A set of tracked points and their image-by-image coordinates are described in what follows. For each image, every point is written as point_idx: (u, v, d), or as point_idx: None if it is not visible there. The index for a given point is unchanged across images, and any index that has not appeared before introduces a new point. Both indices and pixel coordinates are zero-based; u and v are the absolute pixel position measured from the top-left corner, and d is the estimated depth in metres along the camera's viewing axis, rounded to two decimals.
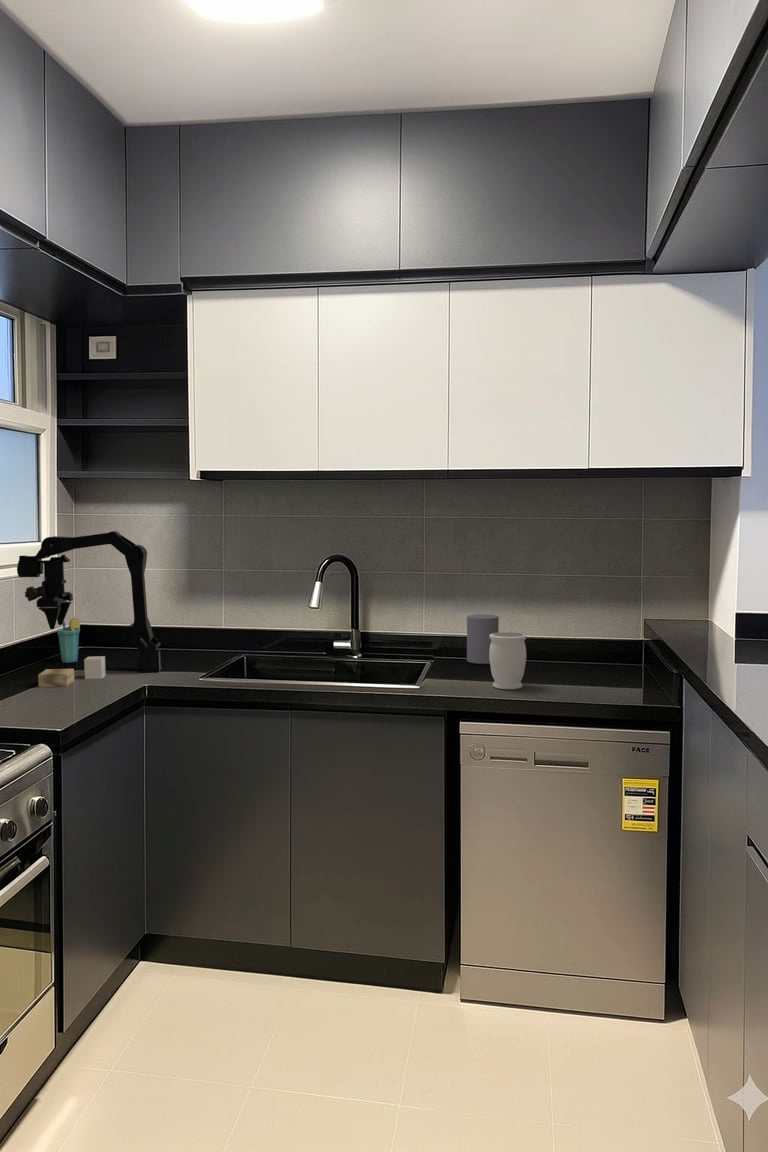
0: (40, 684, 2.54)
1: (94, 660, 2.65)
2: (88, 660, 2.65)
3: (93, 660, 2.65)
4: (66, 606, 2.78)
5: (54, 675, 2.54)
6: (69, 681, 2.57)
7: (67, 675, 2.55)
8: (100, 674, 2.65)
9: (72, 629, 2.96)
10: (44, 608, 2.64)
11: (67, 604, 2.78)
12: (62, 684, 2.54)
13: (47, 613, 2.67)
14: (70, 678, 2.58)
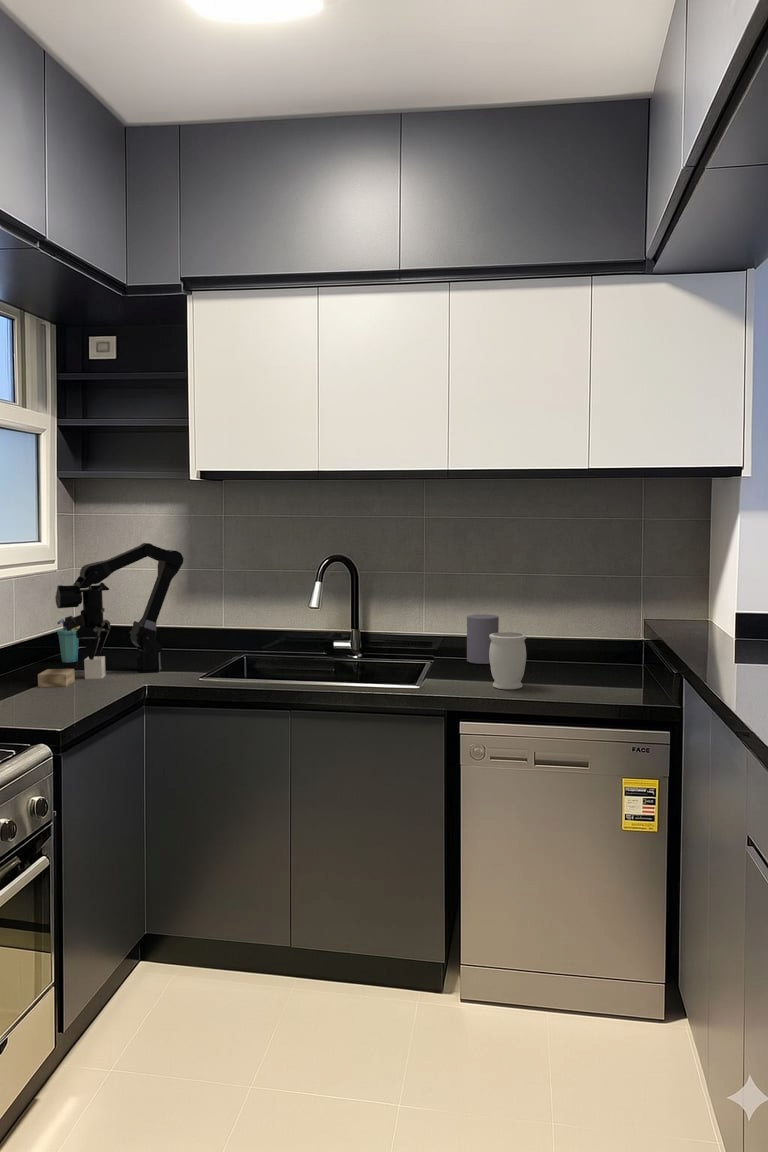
0: (40, 684, 2.54)
1: (94, 660, 2.65)
2: (88, 660, 2.65)
3: (93, 660, 2.65)
4: (104, 635, 2.72)
5: (53, 675, 2.54)
6: (69, 681, 2.57)
7: (66, 675, 2.55)
8: (100, 674, 2.65)
9: (72, 629, 2.96)
10: (84, 638, 2.59)
11: (105, 633, 2.72)
12: (61, 684, 2.54)
13: (86, 643, 2.61)
14: (70, 678, 2.58)
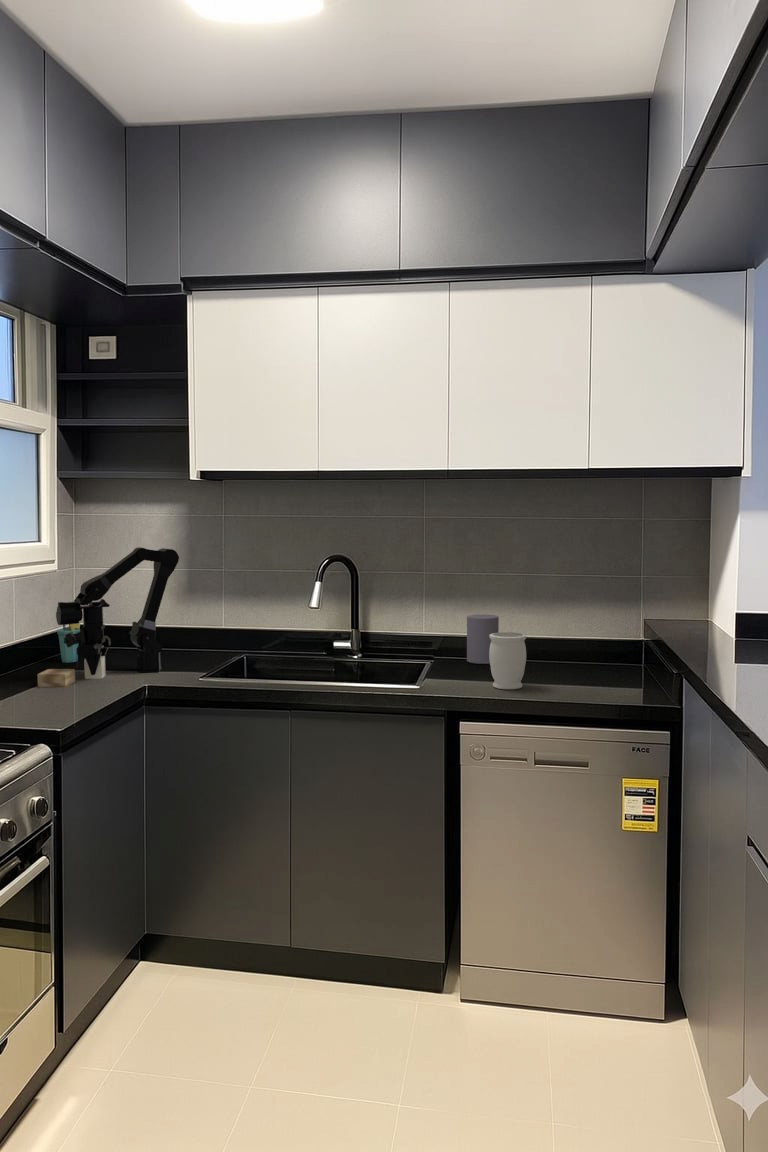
0: (39, 684, 2.54)
1: None
2: None
3: None
4: (103, 652, 2.70)
5: (53, 675, 2.54)
6: (68, 681, 2.57)
7: (66, 675, 2.55)
8: (100, 674, 2.65)
9: (72, 629, 2.96)
10: (86, 654, 2.61)
11: (104, 650, 2.70)
12: (60, 684, 2.54)
13: (88, 659, 2.63)
14: (70, 678, 2.58)
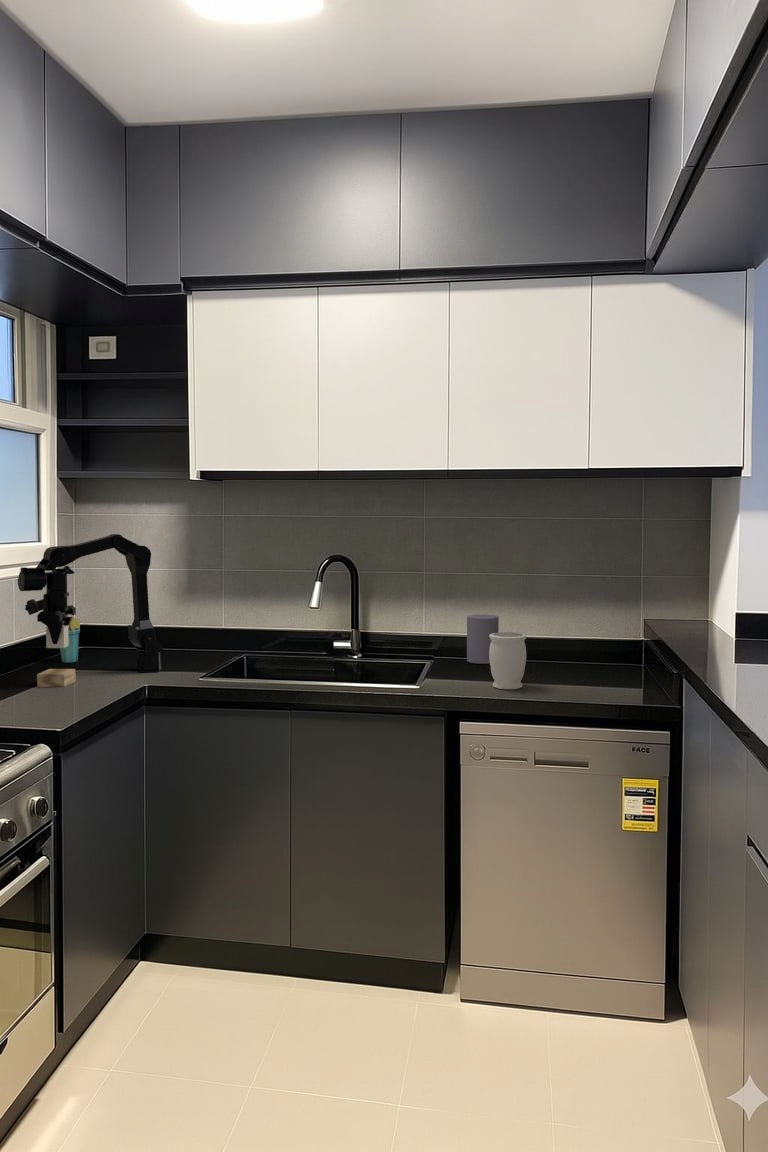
0: (39, 684, 2.54)
1: None
2: None
3: None
4: (67, 621, 2.60)
5: (52, 675, 2.54)
6: (68, 681, 2.56)
7: (65, 675, 2.54)
8: (62, 643, 2.55)
9: (72, 629, 2.96)
10: (47, 622, 2.51)
11: (68, 619, 2.61)
12: (59, 684, 2.54)
13: (50, 627, 2.53)
14: (69, 678, 2.57)
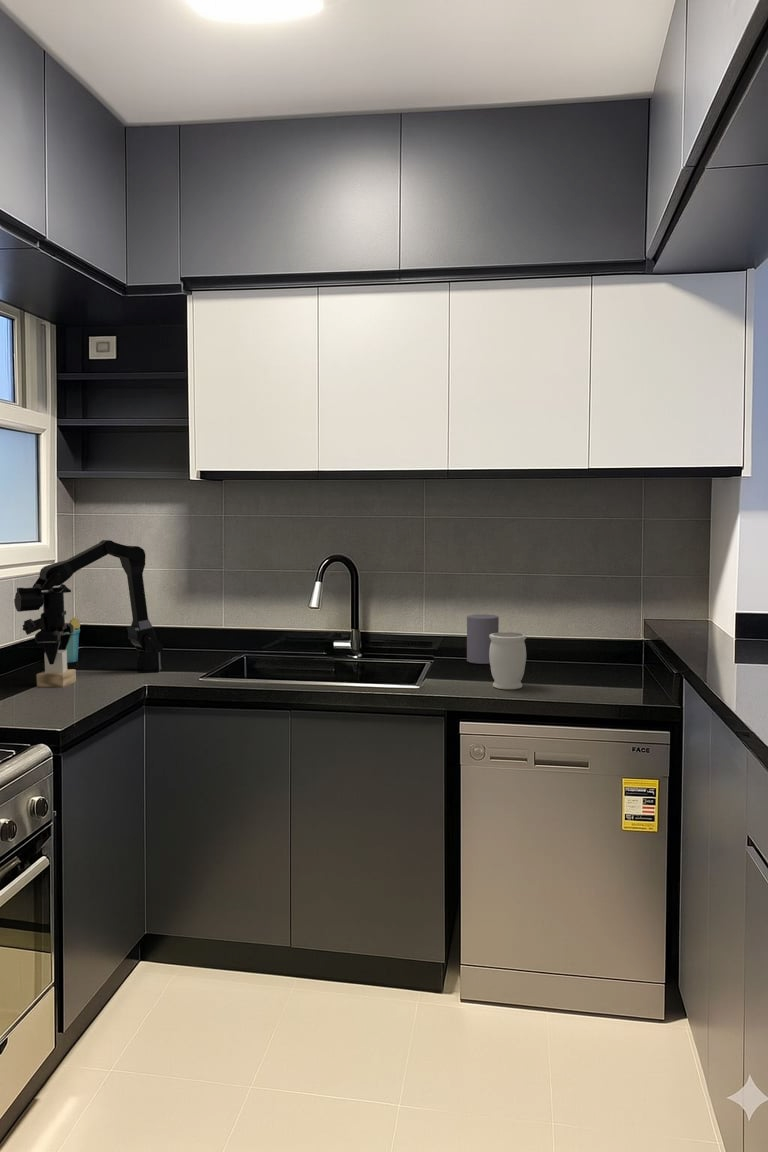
0: (38, 684, 2.54)
1: None
2: None
3: None
4: (66, 639, 2.62)
5: (51, 675, 2.54)
6: (67, 682, 2.56)
7: (64, 676, 2.54)
8: (61, 668, 2.55)
9: None
10: (43, 643, 2.49)
11: (67, 636, 2.62)
12: (58, 684, 2.54)
13: (46, 648, 2.51)
14: (69, 679, 2.57)
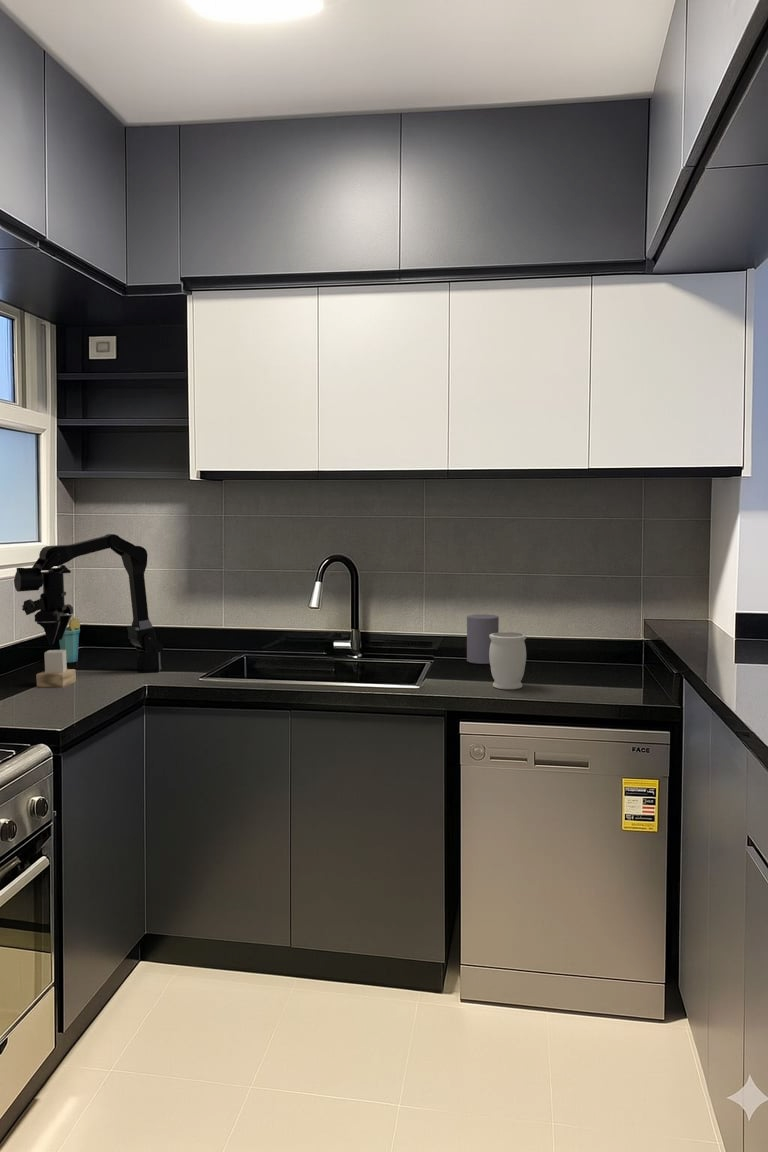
0: (38, 684, 2.54)
1: (55, 653, 2.55)
2: (48, 654, 2.55)
3: (54, 653, 2.55)
4: (66, 620, 2.62)
5: (51, 675, 2.54)
6: (67, 682, 2.56)
7: (63, 676, 2.54)
8: (61, 668, 2.56)
9: (72, 629, 2.96)
10: (43, 623, 2.48)
11: (67, 618, 2.62)
12: (58, 684, 2.54)
13: (46, 628, 2.51)
14: (69, 679, 2.57)
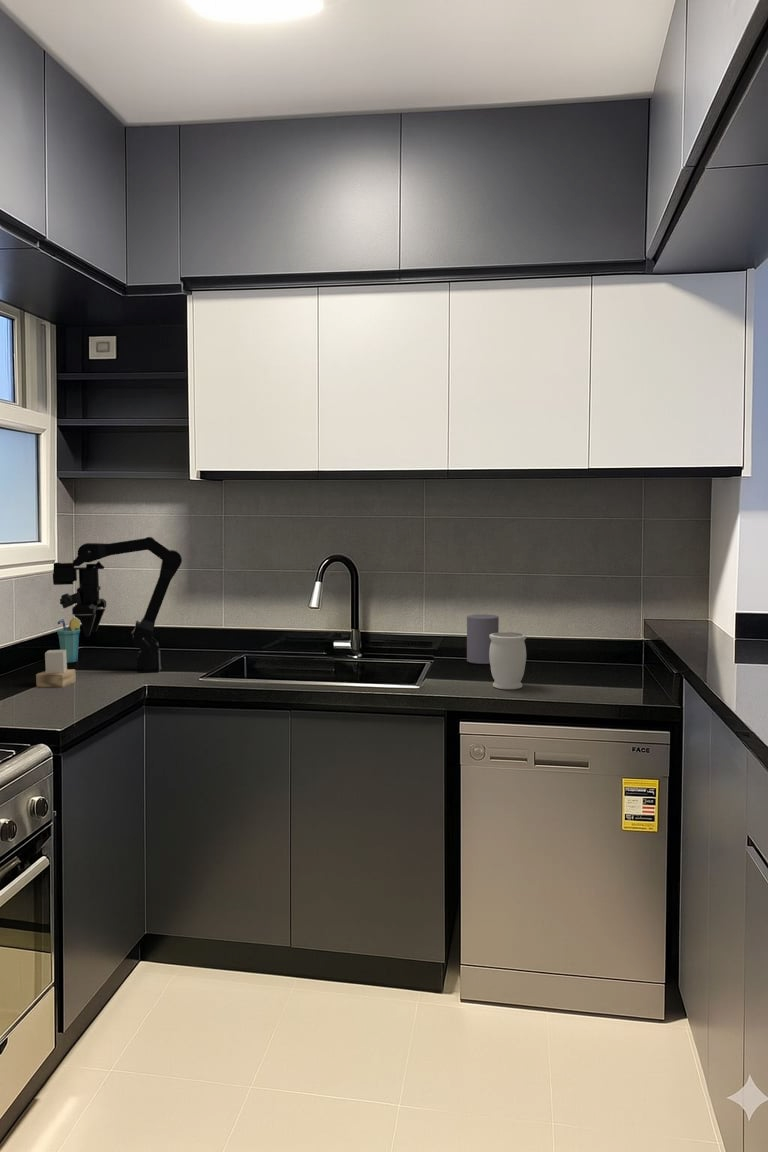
0: (38, 684, 2.54)
1: (55, 653, 2.55)
2: (49, 653, 2.55)
3: (54, 653, 2.55)
4: (100, 613, 2.76)
5: (51, 675, 2.54)
6: (67, 682, 2.56)
7: (63, 676, 2.54)
8: (62, 668, 2.56)
9: (72, 629, 2.96)
10: (80, 615, 2.63)
11: (101, 611, 2.76)
12: (58, 684, 2.54)
13: (82, 620, 2.65)
14: (68, 679, 2.57)
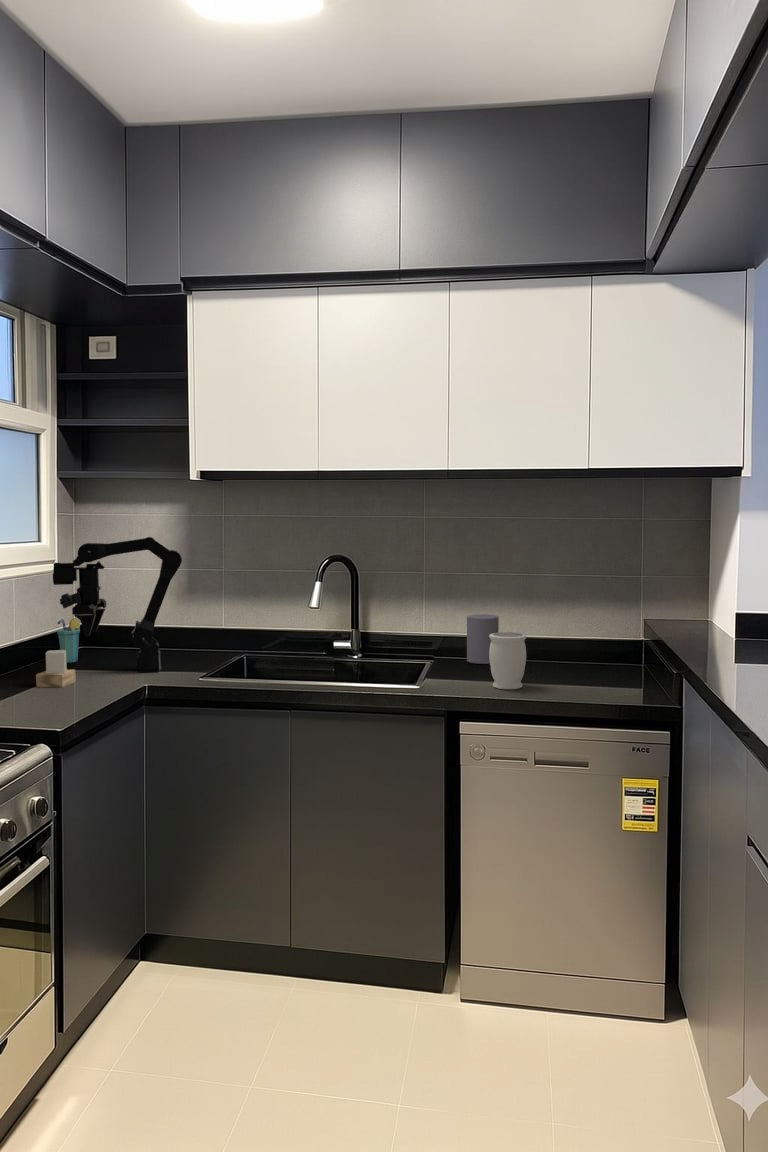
0: (38, 684, 2.54)
1: (56, 654, 2.55)
2: (50, 654, 2.54)
3: (55, 654, 2.55)
4: (100, 613, 2.76)
5: (50, 675, 2.53)
6: (66, 682, 2.56)
7: (63, 676, 2.54)
8: (63, 668, 2.56)
9: (72, 629, 2.96)
10: (80, 615, 2.63)
11: (101, 611, 2.76)
12: (57, 684, 2.53)
13: (82, 620, 2.65)
14: (68, 679, 2.57)
